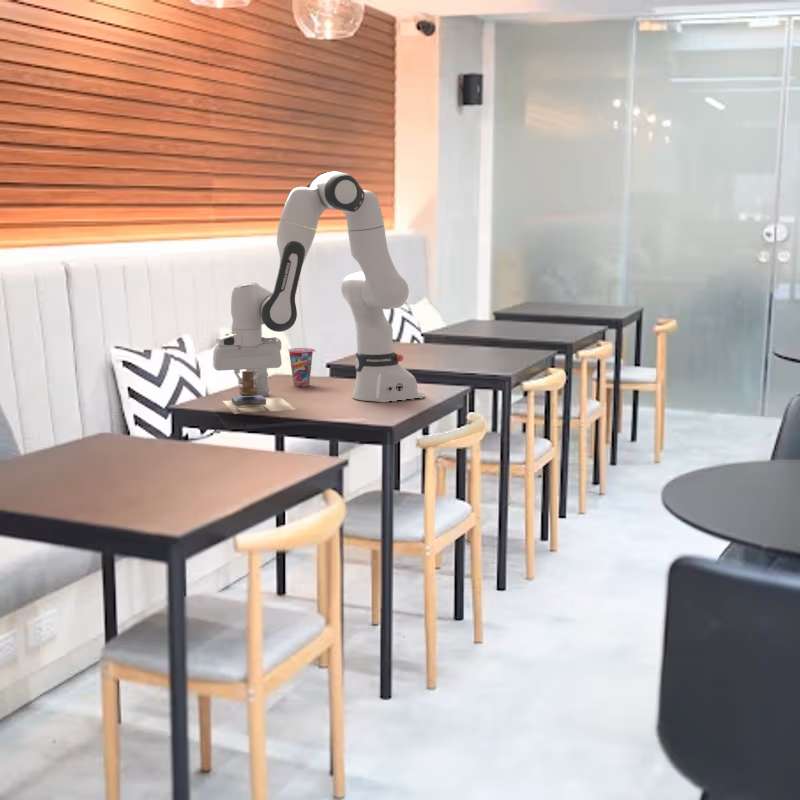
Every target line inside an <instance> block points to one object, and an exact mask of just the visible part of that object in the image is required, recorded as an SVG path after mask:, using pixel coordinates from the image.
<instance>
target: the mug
mask: <svg viewBox="0 0 800 800" xmlns="http://www.w3.org/2000/svg"><path fill="white" fill-rule="evenodd" d="M245 371H252V372H253V377H255V375H256V373H257V372H256V371H255V369H245ZM268 377H269V373H268V368H263V369H261V374H260V376H259V377H258V384H254V386H255V387H257V395H262V396H264V397H268V396H269V392H270V388H269V383H268Z"/></svg>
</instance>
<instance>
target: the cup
mask: <svg viewBox="0 0 800 800" xmlns="http://www.w3.org/2000/svg"><path fill="white" fill-rule="evenodd" d="M287 351H288V353H289V360H290V368H291V374H292V375H291V376H292V382H293V386H294V385H295V386H294V387H299V386H302V387H308V386H307V385H309V386H310V383H311V381H310V380H311V372H312V362H313V353H314V352H316V350H315V349H314V348H306V347H294V348H289V349H288V350H287Z"/></svg>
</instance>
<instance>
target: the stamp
mask: <svg viewBox="0 0 800 800" xmlns="http://www.w3.org/2000/svg"><path fill="white" fill-rule="evenodd" d="M241 374H242V375H241V376H242V377H241V378H243V379H244V381H243V382H244V384H241V385H240V386H239V388H238V389H239V396H257V387H255V386H254V383H253V372H252V371H246V370H242V371H241Z"/></svg>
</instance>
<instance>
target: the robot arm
mask: <svg viewBox="0 0 800 800" xmlns="http://www.w3.org/2000/svg"><path fill="white" fill-rule="evenodd" d="M326 210H332V211H337V210H339V211H342V212H343V214H344V216H345V219H346V225H347V233H348V240H349V247H350V248H349V249H350V254H351V256H352V258H353V259H354V260H355V261H356V262H357V263H358V265H359V267H360V269H361V271H360V270H359V271H356V272H352V273H349V274H347V275H346V276H345V277H344V278H343V280H342V283H341V287H340V288H341V295H342V297H343V298H344V299H345V301H346V303H347V304H348V305H349V308H350V309H351V313H352V317H353V318H354V323H355V328H356V353H355V370H356V377H355V383H354V384H355V386H354V390H353V393H352V399H355V400H358V401H366V402H377V403H388V402H389V401H392V402H398V401H397V400H402V401H407V400H406V399H411V400H415V399H414V398H420V399H424V398H426V396H425V393H424V391H422V390H420V389H418V382H417V380H416V378H415V376H414V375H413V374H412V373H411V372H410V371H408V370H407V369H406V368H404V367H403V366H402V365H401V364H400V363H399V362H402V361H403V360H404V355H402V354H401V353H396V352H394V349H393V347H394V344H393V343H394V342H393V340H394V339H393V338H394V337H393V335H394V333H393V332H394V331H393V327H392V325H391V323H390V322H389V321H388V319H387V318H386V315H385V313H384V310H393V309H397V308H401V307H403V305H405V303H406V302H407V300H408V297H409V292H410V291H409V289H410V288H409V285H408V282H407V281H406V280H405V279H404V278H403V277H402V276H401V275H400V274H399V272H398V271H397V268H396V267H395V264H394V263H393V260H392V258H391V254H390V252H389V249H388V242H387V237H386V236H387V235H386V232H385V231H386V230H385V223H384V218H383V211H382V208H381V205H380V202H379V198H378V197H377V195H376V194H375V193H374V192H373V191H372V190H368V189H363V188H362V187H361V186H360V183H358V181H357V179H356V178H355V177H354V176H353V175H350V174H349V173H346V172H340V171H325V172H324V171H323V172H322V173H319V174H318V175H316V176H315V177H314V178H313V179H312V180H311V181H310V182H309V184H308V185H307V186H298V187H295V188H293V189H291V191H290V192H289V195H288V197H287V199H286V201H285V203H284V206H283V208H282V211H281V215H280V218H279V222H278V226H277V235H276V246H277V249H278V253H279V265H278V266H279V267H278V272H277V276H276V280H275V284H274V289H273V291H271V290H269V289H266V288H265V287H263V286H261V285H260V284H259V283H258V282H246V283H242V284H239V285H237V286H235V287H234V288H233V289H232V292H231V298H230V299H231V300H230V302H231V303H230V315H231V318H232V324H231V331H230V332H227V333H225V334H222V335H219V336H217V337H216V344H217V345H216V346H214V350H213V354H212V355H213V356H212V367H213V369H214V370H216V371H233V373H234V375H235V377H236V378H237V385H240V386H242V384H244V382H243V381H244V379H243V378H242V377H241V376H240V375H239V374H240V373H241V371H240V370H242V371H243V370H246V369H255V371H256V372H257V373H256V375H255V377H253V383H254V384H258V377H259V376H260V374H261V369H263V368H267V369H279V368H280V367H282V355H281V350H282V341H281V339H279V338H277V337H276V336H272V337H267V336H265V337H264V336H263V333H262V331H263V330H262V325H265V326H266V327H267V328H268V329H269V330H270V331H273V332H277V333H280V332H282V333H283V332H285V331H287V330H290V329H291V328H292V327H293V326H294V324H295V322H296V321H297V317H298V312H297V311H298V310H297V305H296V294H297V289H298V287H299V286H298V285H299V281H300V277H301V276H300V275H301V272H302V268H303V265H304V263H305V261H306V259H307V256H308V254H309V251H310V249H311V247H312V244H313V241H314V239H315V236H316V233H317V228H318V224H319V220H320V217H321V215H322V214H323V213H324V211H326ZM423 397H424V398H423ZM389 403H390V402H389Z"/></svg>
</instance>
